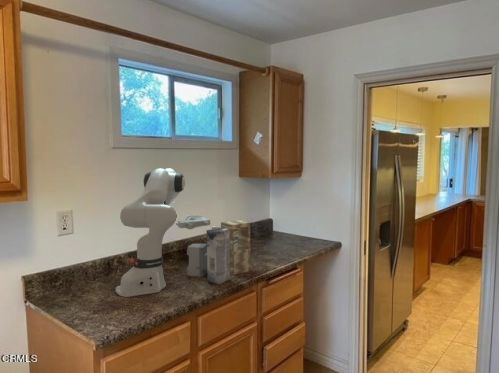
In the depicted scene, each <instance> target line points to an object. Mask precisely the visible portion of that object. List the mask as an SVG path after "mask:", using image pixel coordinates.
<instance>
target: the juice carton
mask: <svg viewBox="0 0 499 373" xmlns="http://www.w3.org/2000/svg"><path fill="white" fill-rule="evenodd" d="M229 233H230V229H227V228H221V227H218V225H214V226H211V228H210V229H206V244H207V273H206V275H207V282H208V283H211V284H214V285H221V284H223V283H225V282H227V281H230V277H231V275H230V245H229Z"/></svg>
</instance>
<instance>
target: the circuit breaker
mask: <svg viewBox="0 0 499 373" xmlns="http://www.w3.org/2000/svg"><path fill="white" fill-rule="evenodd" d="M186 255H187V256H188V266H187V270H186V271H187V276H189V277H204V276H205V275H207V243H191V244H190V245H188V246H187V249H186Z"/></svg>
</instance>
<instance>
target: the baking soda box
mask: <svg viewBox="0 0 499 373" xmlns="http://www.w3.org/2000/svg"><path fill="white" fill-rule="evenodd" d="M237 250H238V231H237V228H234V251H237Z"/></svg>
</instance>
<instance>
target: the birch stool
mask: <svg viewBox="0 0 499 373" xmlns="http://www.w3.org/2000/svg"><path fill="white" fill-rule="evenodd" d="M220 228H227V229H230V233H229V245H230V276H234V275H238V274H243V273H247V272H251V270H252V269H251V262H252V261H251V259H252V258H251V222H250V221H245V220H241V219H238V220H237V219H236V220H228V221H221V222H220ZM234 228H237V231H238V250H237V251H234Z"/></svg>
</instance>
